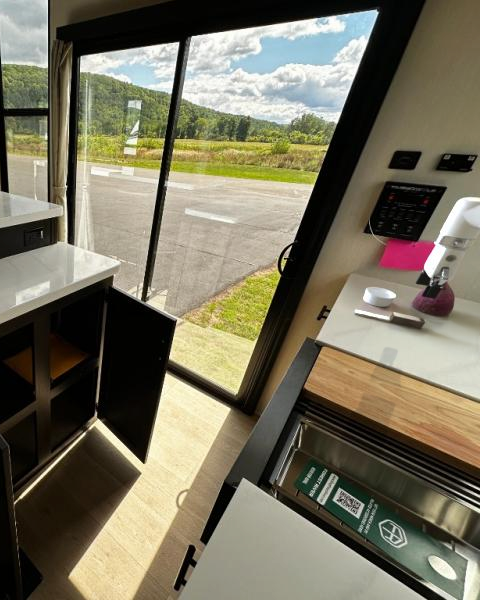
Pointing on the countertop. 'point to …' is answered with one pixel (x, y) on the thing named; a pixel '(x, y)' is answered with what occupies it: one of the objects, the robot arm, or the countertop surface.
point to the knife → (396, 319)
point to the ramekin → (379, 296)
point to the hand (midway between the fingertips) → (424, 290)
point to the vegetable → (436, 302)
